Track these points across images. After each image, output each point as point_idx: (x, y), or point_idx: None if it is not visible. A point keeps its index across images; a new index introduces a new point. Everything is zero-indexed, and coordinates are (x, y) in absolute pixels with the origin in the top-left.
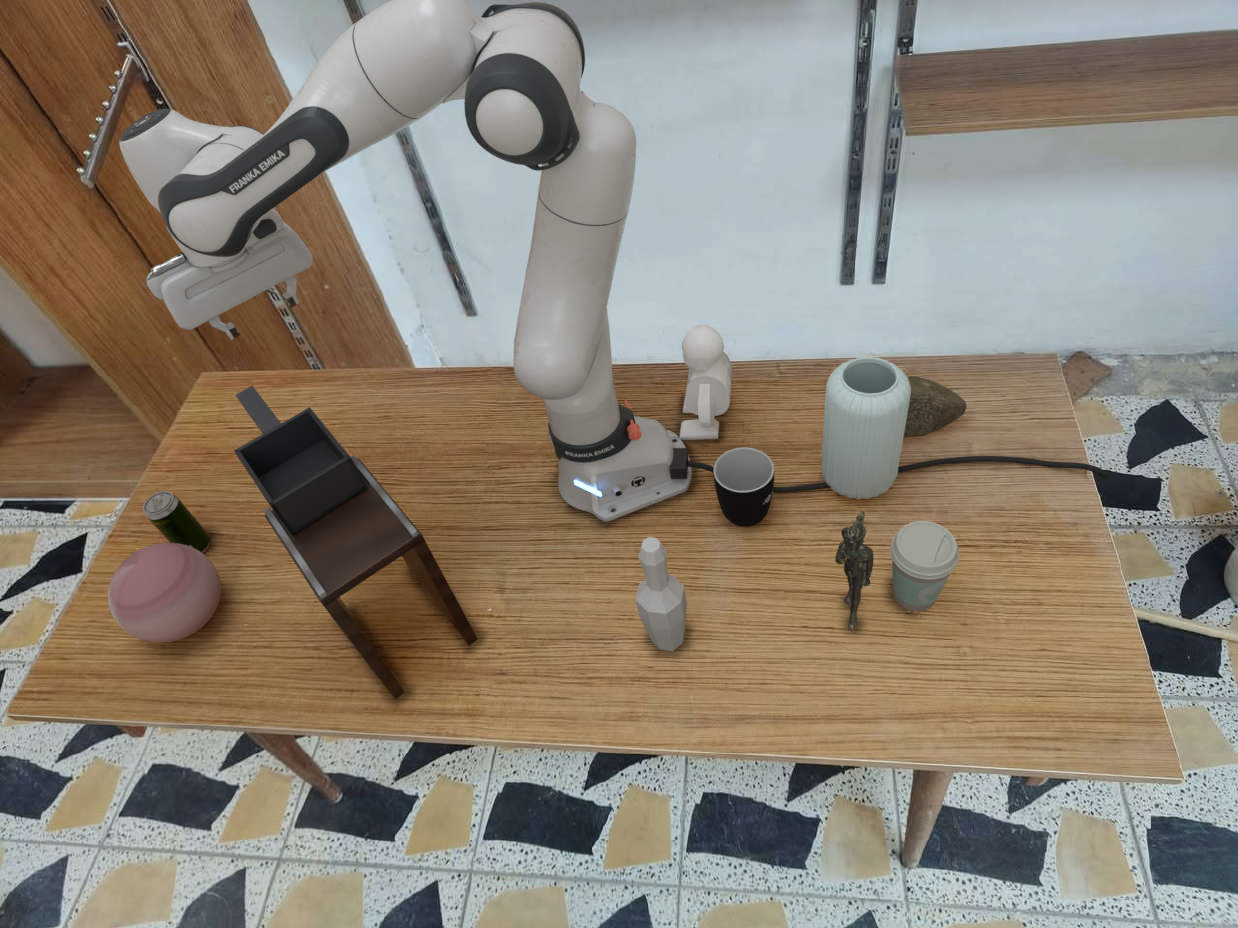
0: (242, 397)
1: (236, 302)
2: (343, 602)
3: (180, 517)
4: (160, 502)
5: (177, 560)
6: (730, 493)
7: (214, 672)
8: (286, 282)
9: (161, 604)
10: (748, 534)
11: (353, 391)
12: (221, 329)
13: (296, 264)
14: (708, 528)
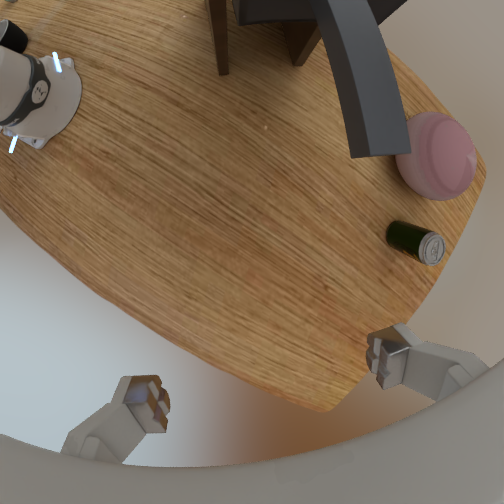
0: (399, 125)
1: (388, 442)
2: (297, 52)
3: (417, 233)
4: (432, 250)
5: (437, 143)
6: (9, 22)
7: (401, 94)
8: (95, 451)
9: (446, 116)
10: (28, 32)
11: (212, 349)
12: (438, 346)
13: (5, 469)
14: (37, 39)
